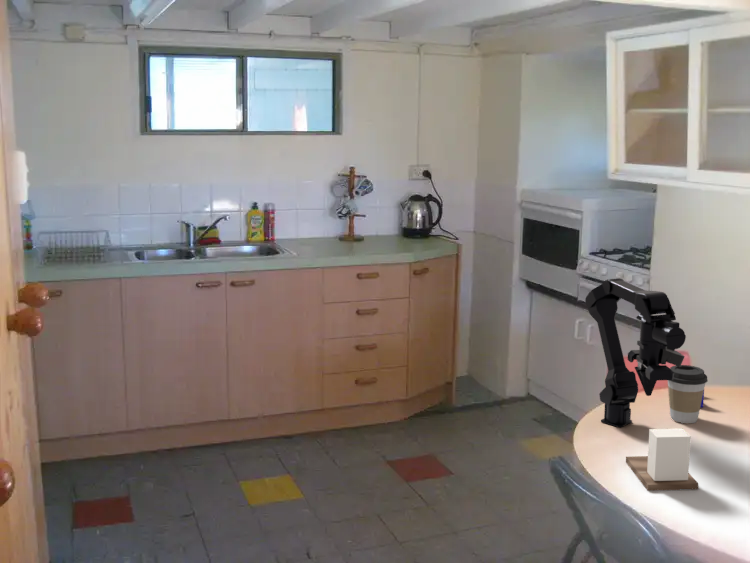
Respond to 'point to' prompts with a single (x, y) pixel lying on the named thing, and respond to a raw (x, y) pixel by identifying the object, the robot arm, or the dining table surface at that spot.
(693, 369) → the coffee cup
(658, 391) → the dining table surface
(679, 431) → the block
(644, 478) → the board
